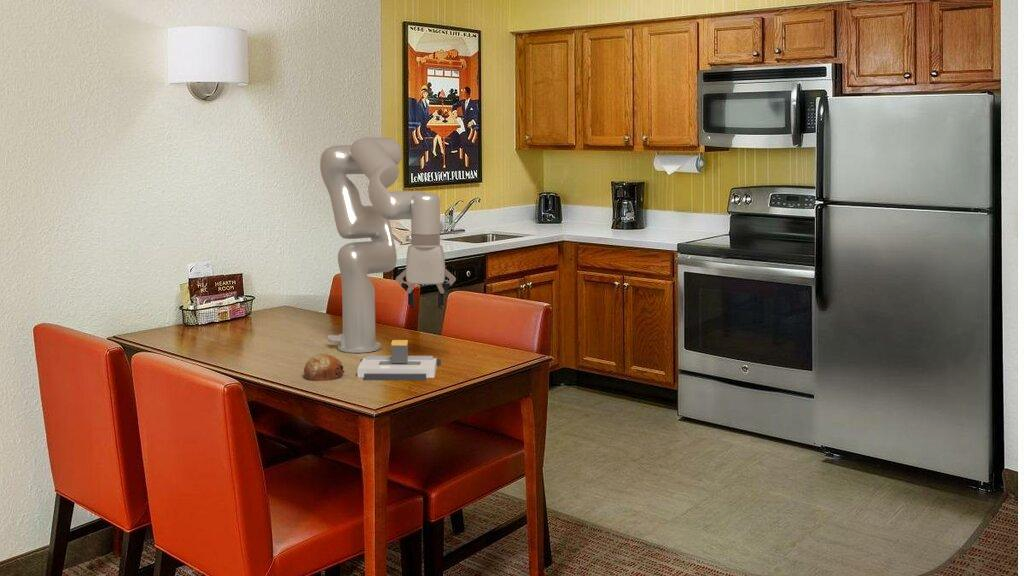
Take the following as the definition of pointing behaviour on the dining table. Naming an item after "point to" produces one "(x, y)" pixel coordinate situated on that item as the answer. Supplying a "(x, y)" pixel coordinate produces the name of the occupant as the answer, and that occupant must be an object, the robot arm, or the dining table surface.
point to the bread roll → (323, 368)
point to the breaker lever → (399, 351)
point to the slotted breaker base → (398, 366)
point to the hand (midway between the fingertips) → (425, 307)
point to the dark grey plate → (397, 375)
